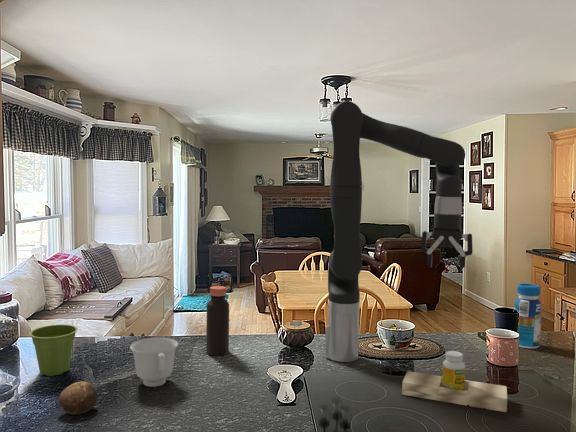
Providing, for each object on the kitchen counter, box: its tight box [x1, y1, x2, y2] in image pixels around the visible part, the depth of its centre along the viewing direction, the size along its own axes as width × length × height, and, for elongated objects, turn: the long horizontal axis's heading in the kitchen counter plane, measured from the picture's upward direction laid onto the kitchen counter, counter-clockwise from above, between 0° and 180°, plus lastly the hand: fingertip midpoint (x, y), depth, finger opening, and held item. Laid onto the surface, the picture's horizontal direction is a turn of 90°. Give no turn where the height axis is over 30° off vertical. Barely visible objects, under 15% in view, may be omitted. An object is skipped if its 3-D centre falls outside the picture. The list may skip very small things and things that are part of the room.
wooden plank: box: [401, 370, 508, 413], centre depth 127 cm, size 24×8×3 cm, turn 68°
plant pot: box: [28, 324, 78, 377], centre depth 138 cm, size 12×12×11 cm
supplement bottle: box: [441, 350, 466, 391], centre depth 126 cm, size 5×5×10 cm
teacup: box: [129, 337, 179, 388], centre depth 131 cm, size 12×15×10 cm
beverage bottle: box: [513, 282, 543, 350], centre depth 168 cm, size 8×8×20 cm
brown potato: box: [58, 380, 99, 415], centre depth 116 cm, size 8×8×6 cm
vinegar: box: [205, 285, 230, 357], centre depth 155 cm, size 7×7×20 cm
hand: (445, 268), depth 149 cm, fingers open, 8 cm apart
